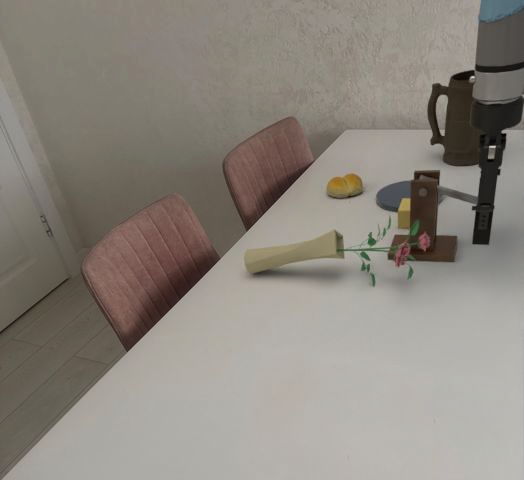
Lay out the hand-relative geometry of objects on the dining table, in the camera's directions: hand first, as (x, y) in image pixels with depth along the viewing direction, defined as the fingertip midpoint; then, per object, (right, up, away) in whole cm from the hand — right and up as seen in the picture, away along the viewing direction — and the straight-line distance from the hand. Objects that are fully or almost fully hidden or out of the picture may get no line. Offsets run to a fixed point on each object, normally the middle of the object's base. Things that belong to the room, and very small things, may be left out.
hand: (482, 226), depth 90 cm
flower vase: (-26, -8, +5) cm, 28 cm away
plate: (-6, +13, +26) cm, 29 cm away
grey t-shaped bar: (-6, +5, -1) cm, 8 cm away
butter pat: (-8, +5, +17) cm, 19 cm away
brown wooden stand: (-9, -3, +7) cm, 11 cm away
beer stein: (+10, +27, +39) cm, 49 cm away
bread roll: (-19, +17, +35) cm, 43 cm away
